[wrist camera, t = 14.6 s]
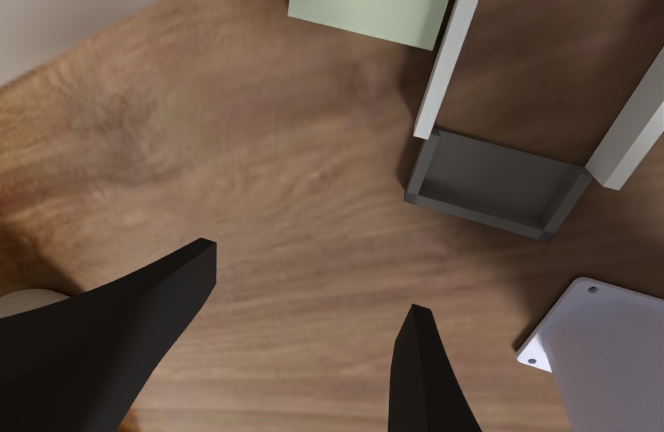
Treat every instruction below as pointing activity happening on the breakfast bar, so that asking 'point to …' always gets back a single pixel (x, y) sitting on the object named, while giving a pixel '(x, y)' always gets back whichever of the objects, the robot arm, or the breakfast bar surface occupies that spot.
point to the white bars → (618, 144)
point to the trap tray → (495, 184)
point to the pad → (378, 18)
